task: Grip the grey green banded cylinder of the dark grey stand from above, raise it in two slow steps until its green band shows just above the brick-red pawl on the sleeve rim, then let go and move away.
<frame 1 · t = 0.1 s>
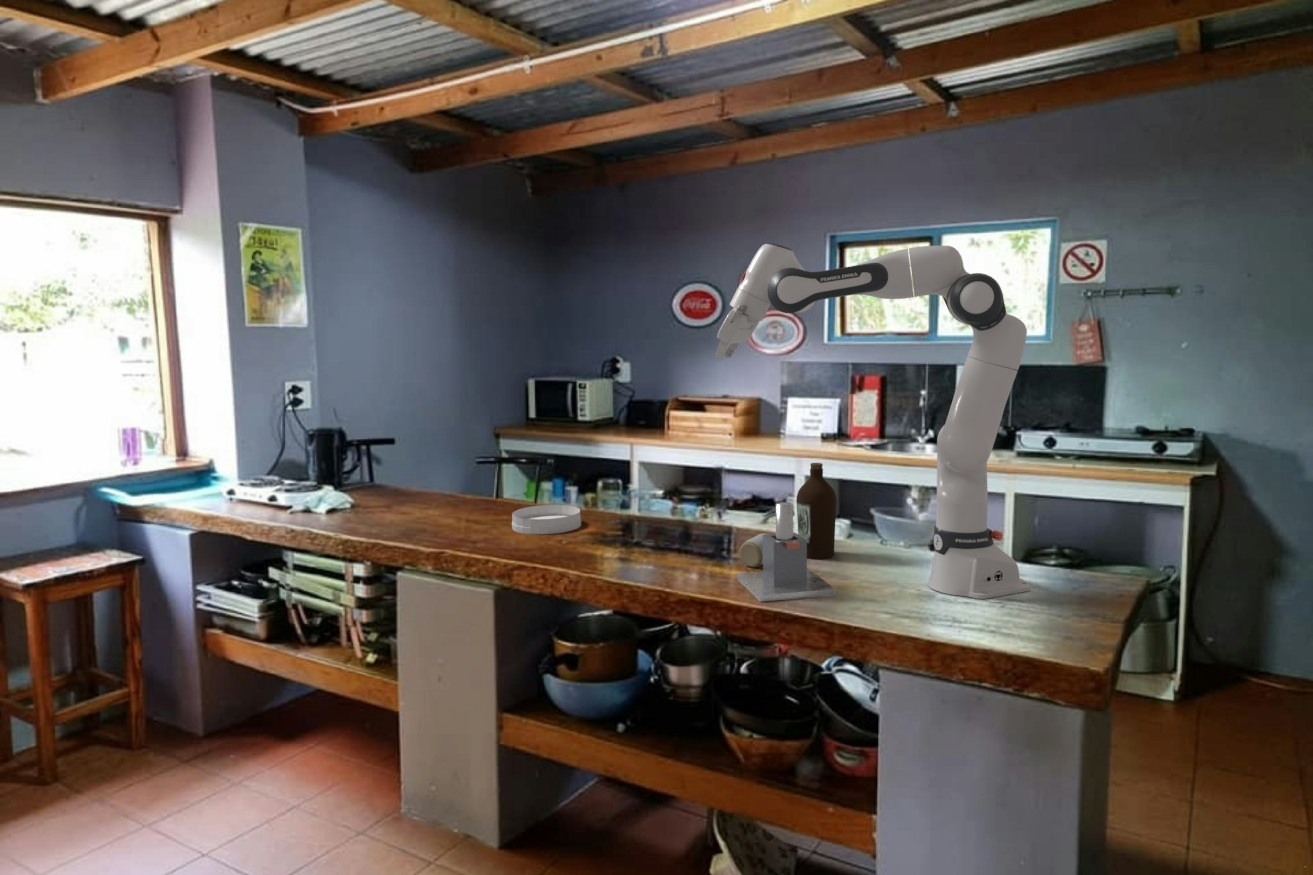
hand: (722, 357, 203), 54 cm above the worktop, tool tilted 30°, fingers open, 8 cm apart
ceramic mug: (763, 566, 214), on the worktop
stand base: (784, 586, 196), on the worktop
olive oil: (816, 555, 224), on the worktop
dish: (546, 527, 265), on the worktop
grey green banded cylinder: (784, 541, 194), point 11 cm above the worktop, slide at 0.0 cm
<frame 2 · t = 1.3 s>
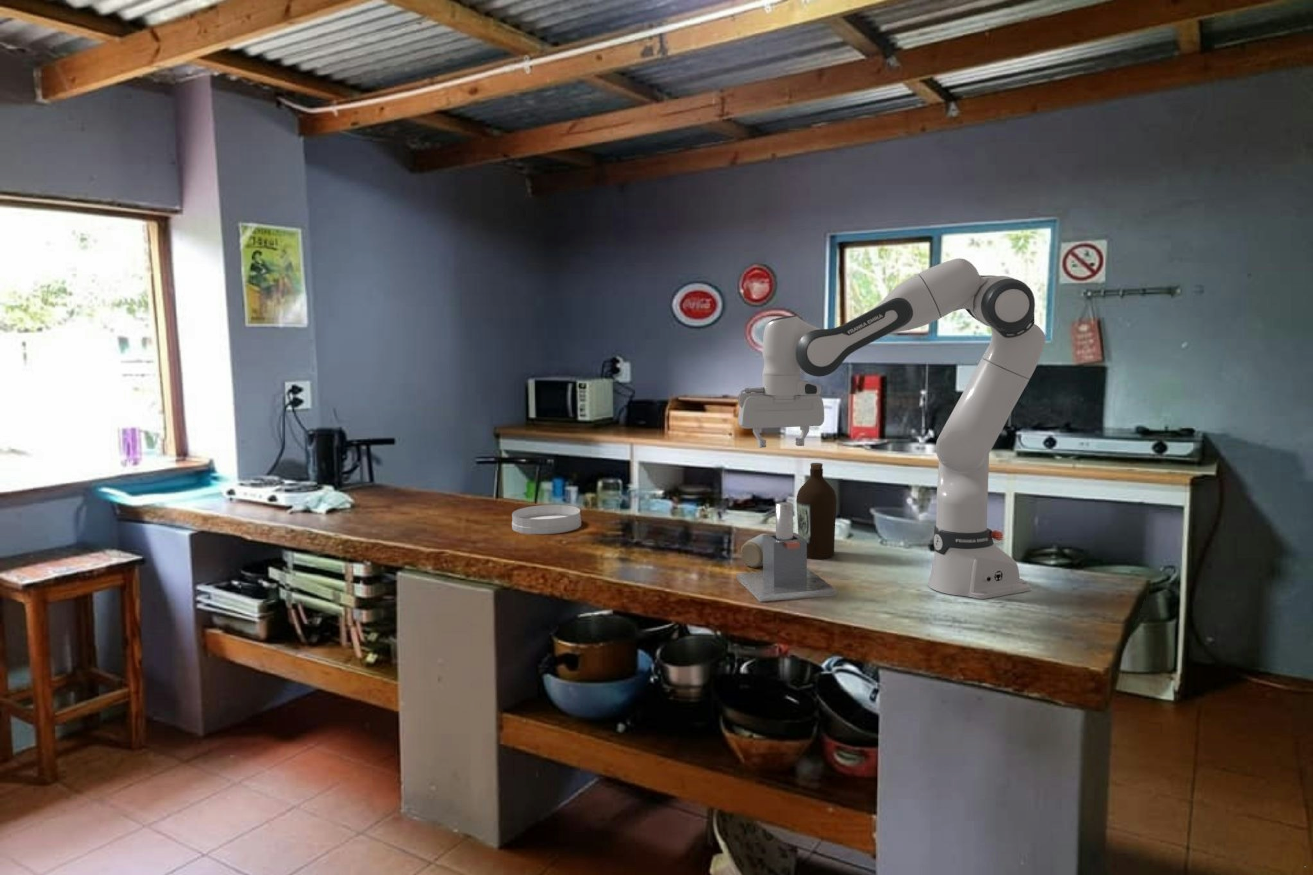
hand: (780, 446, 192), 34 cm above the worktop, tool pointing down, fingers open, 8 cm apart
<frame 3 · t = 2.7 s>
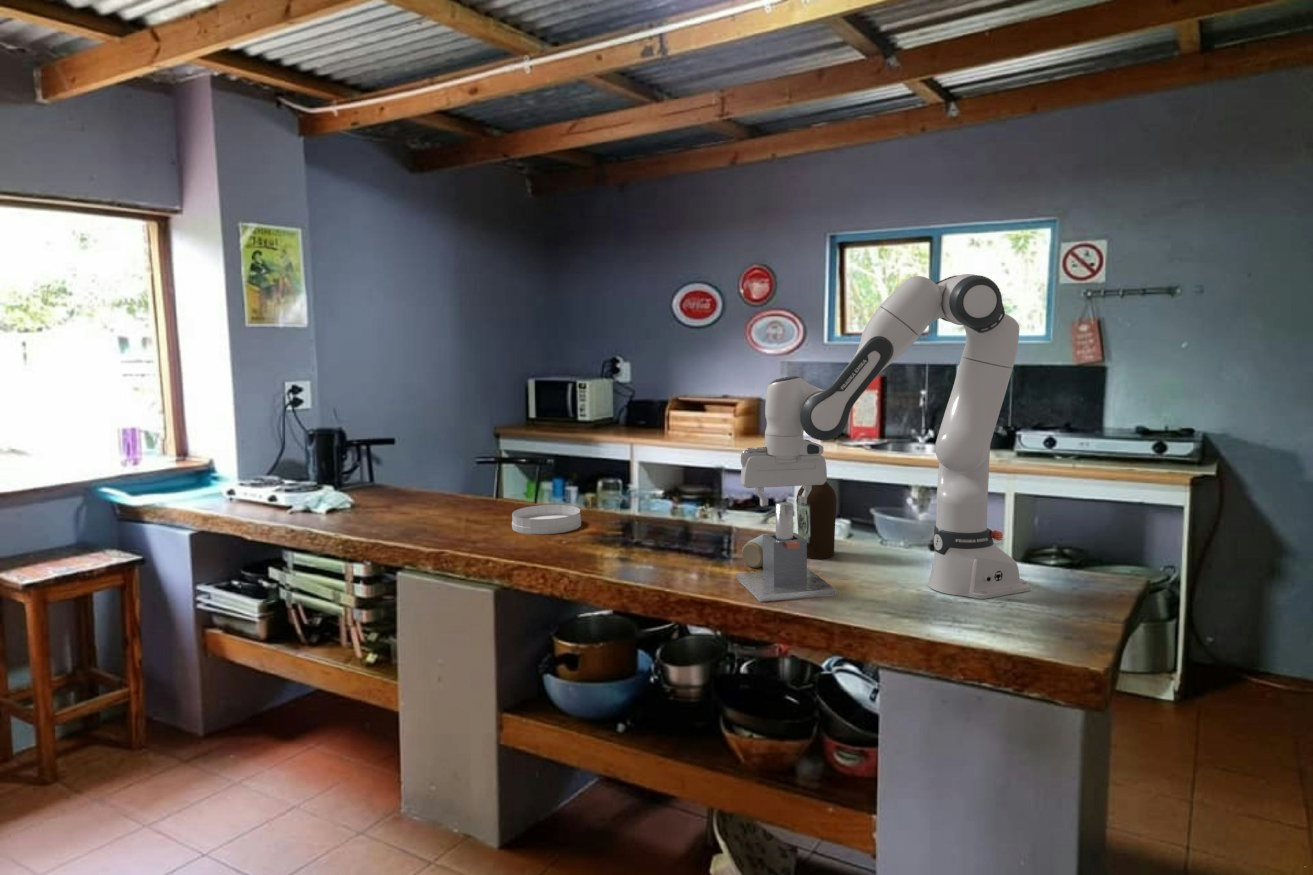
hand: (783, 504, 193), 20 cm above the worktop, tool pointing down, fingers open, 8 cm apart
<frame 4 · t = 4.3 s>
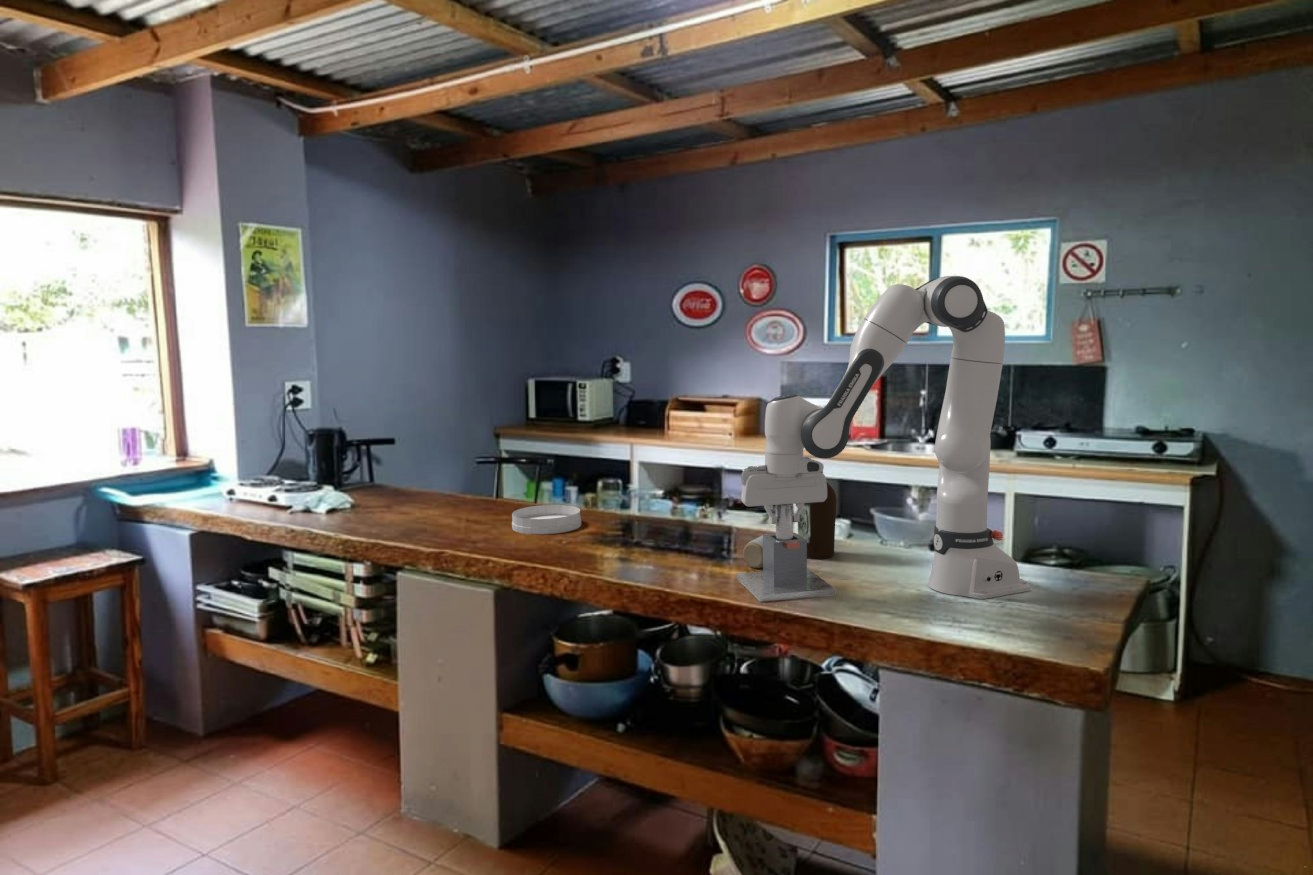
hand: (784, 522, 194), 16 cm above the worktop, tool pointing down, fingers closed on grey green banded cylinder, 4 cm apart
grey green banded cylinder: (784, 541, 194), point 11 cm above the worktop, slide at 0.0 cm, touching gripper
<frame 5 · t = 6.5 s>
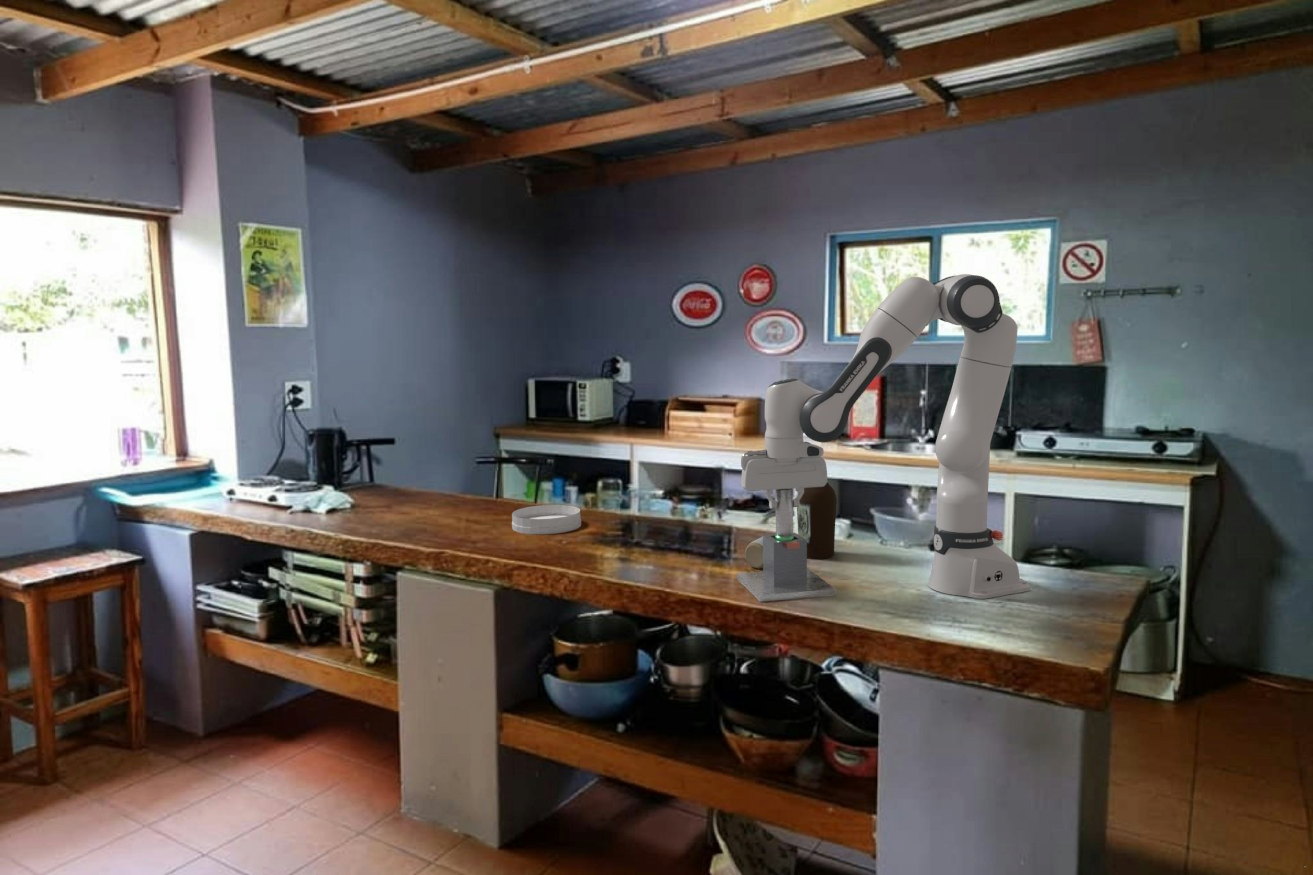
hand: (784, 507, 193), 19 cm above the worktop, tool pointing down, fingers closed on grey green banded cylinder, 4 cm apart
grey green banded cylinder: (784, 526, 194), point 15 cm above the worktop, slide at 3.6 cm, touching gripper
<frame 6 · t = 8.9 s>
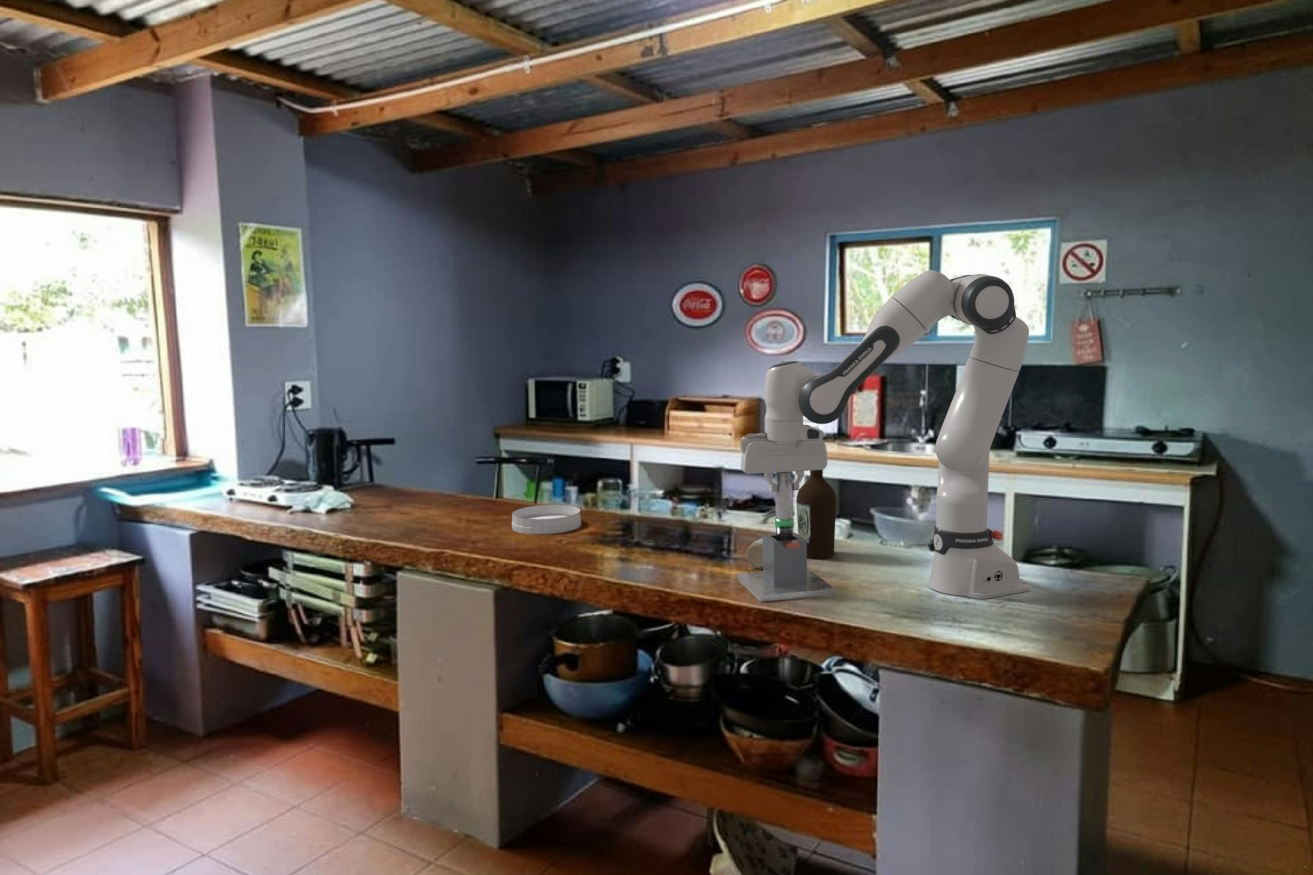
hand: (784, 490, 193), 23 cm above the worktop, tool pointing down, fingers closed on grey green banded cylinder, 4 cm apart
grey green banded cylinder: (784, 509, 193), point 19 cm above the worktop, slide at 7.6 cm, touching gripper
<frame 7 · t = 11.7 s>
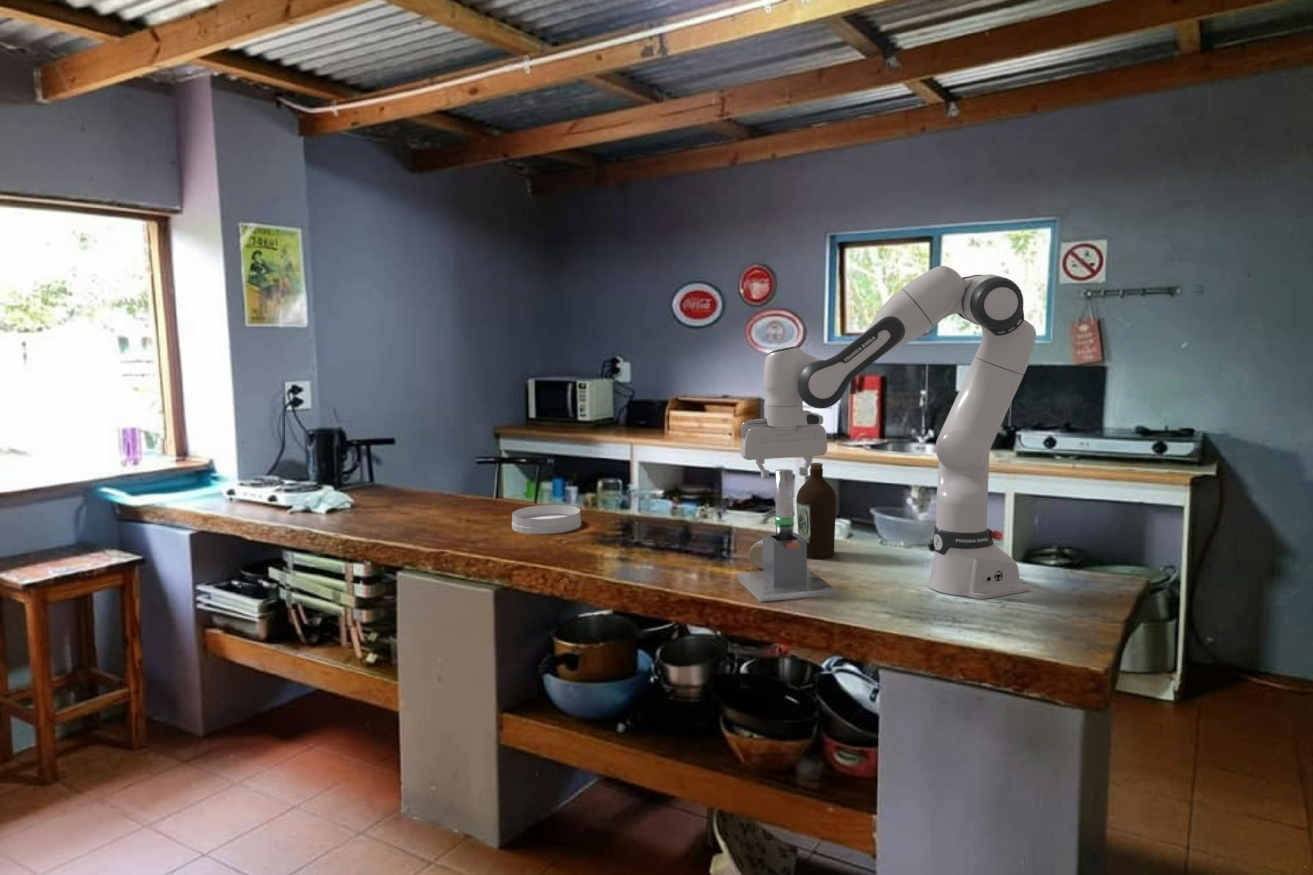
hand: (784, 476, 192), 27 cm above the worktop, tool pointing down, fingers open, 8 cm apart
grey green banded cylinder: (784, 508, 193), point 19 cm above the worktop, slide at 8.0 cm
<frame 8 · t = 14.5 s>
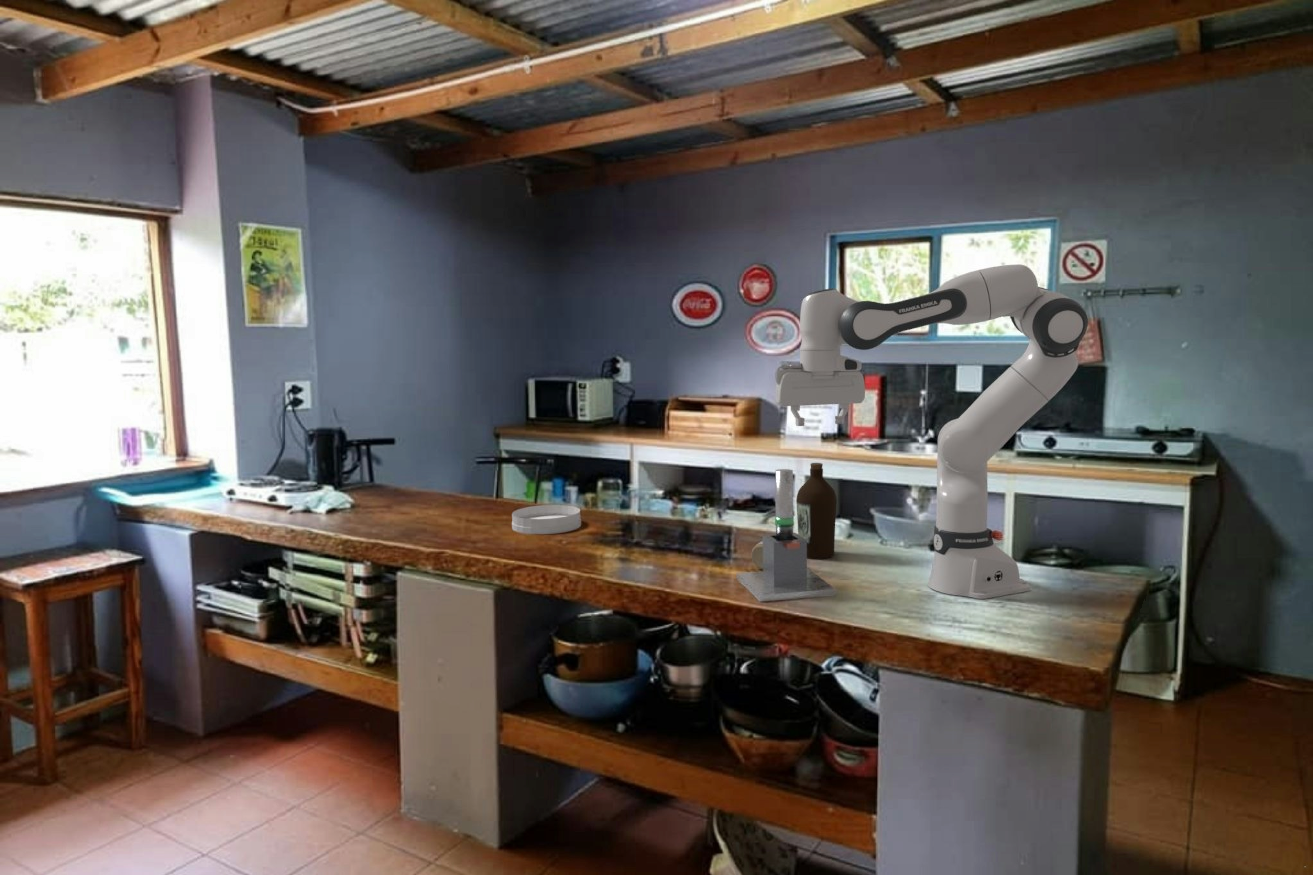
hand: (819, 424, 185), 39 cm above the worktop, tool pointing down, fingers open, 8 cm apart
at the end: grey green banded cylinder slide at 8.0 cm; the gripper is holding nothing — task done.
